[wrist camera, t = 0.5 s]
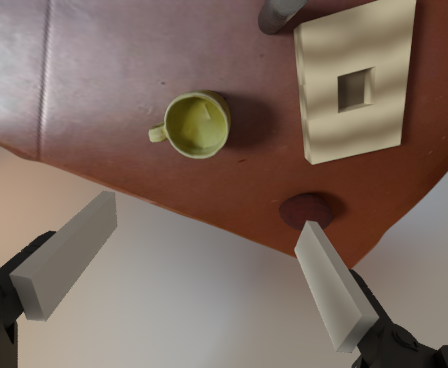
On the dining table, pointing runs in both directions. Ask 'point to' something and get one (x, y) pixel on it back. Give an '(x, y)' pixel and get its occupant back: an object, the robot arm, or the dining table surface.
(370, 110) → the block
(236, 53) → the dining table surface
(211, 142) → the mug
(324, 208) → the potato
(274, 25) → the pin
